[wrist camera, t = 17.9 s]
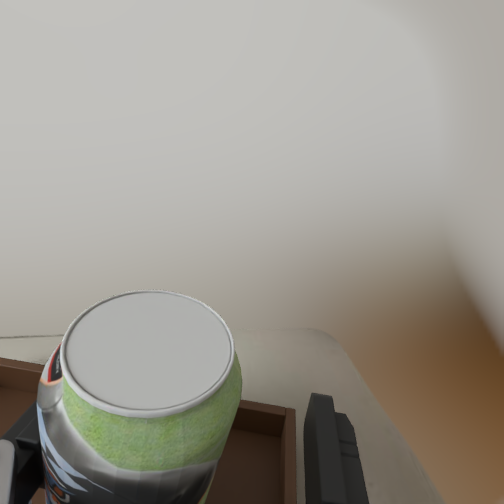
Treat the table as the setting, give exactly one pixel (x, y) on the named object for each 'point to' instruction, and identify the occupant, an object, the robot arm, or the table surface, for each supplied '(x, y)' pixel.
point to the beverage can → (138, 402)
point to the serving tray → (233, 456)
